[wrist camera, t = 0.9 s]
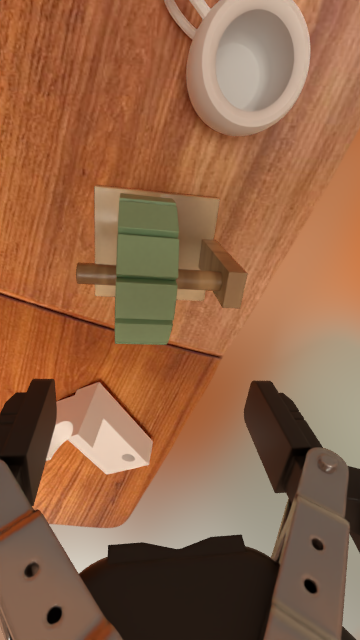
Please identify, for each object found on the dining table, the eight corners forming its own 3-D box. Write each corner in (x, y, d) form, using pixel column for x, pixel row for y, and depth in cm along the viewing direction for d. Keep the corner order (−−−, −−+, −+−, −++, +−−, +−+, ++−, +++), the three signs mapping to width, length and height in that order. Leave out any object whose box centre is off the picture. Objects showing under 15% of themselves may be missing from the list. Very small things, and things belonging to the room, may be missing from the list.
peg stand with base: (91, 291, 36) (76, 348, 25) (89, 184, 31) (70, 201, 21) (204, 297, 38) (231, 351, 28) (219, 197, 33) (259, 219, 23)
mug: (292, 78, 29) (343, 56, 22) (226, 159, 31) (253, 161, 24) (194, -55, 24) (220, -137, 17) (125, 51, 26) (124, 16, 20)
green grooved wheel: (118, 305, 34) (113, 373, 24) (121, 186, 29) (117, 207, 18) (156, 307, 35) (167, 373, 24) (166, 191, 29) (186, 214, 19)
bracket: (56, 397, 43) (29, 448, 36) (99, 381, 40) (77, 434, 34) (113, 451, 49) (98, 503, 42) (153, 441, 46) (143, 495, 40)
